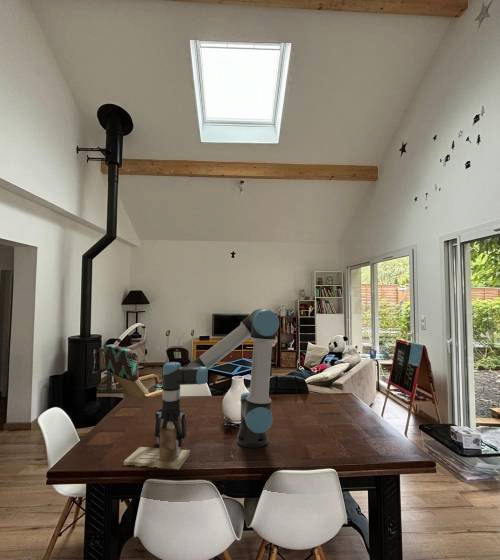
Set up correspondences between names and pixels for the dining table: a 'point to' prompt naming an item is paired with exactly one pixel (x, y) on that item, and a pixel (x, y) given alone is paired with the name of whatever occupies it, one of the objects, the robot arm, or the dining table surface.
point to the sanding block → (168, 443)
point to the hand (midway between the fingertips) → (170, 453)
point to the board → (155, 458)
